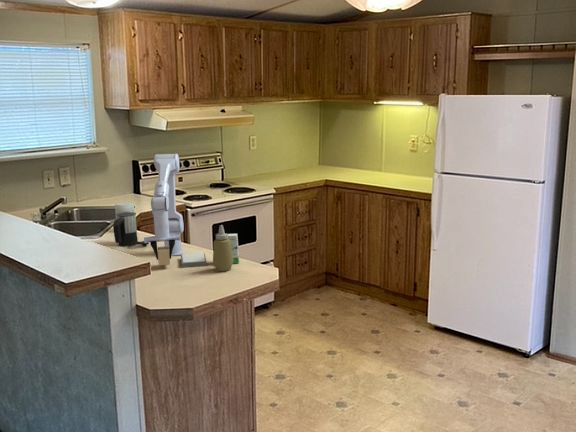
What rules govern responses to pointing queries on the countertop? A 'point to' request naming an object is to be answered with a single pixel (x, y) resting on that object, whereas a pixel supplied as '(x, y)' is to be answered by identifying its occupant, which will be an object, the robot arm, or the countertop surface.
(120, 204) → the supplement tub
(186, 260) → the grey picture frame
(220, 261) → the squeeze bottle
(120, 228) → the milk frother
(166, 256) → the carton
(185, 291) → the countertop surface
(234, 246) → the ink box
